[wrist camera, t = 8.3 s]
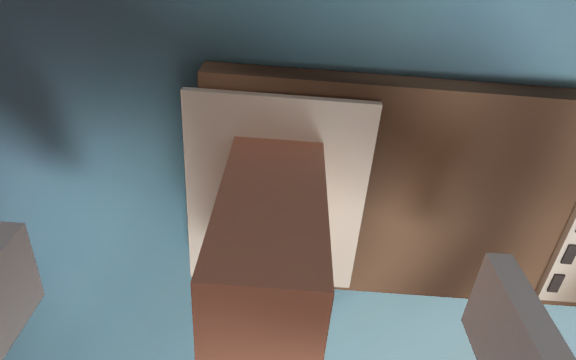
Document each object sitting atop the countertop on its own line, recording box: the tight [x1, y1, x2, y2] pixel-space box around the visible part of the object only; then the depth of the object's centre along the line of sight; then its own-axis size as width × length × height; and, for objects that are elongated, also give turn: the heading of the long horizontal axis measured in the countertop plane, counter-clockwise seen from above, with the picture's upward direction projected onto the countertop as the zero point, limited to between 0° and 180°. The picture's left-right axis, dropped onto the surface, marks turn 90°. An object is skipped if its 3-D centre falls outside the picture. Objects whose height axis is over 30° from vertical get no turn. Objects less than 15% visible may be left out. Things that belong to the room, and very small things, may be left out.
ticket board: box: [197, 61, 576, 306], centre depth 18 cm, size 21×9×2 cm, turn 86°
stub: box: [180, 87, 383, 360], centre depth 14 cm, size 6×8×7 cm
